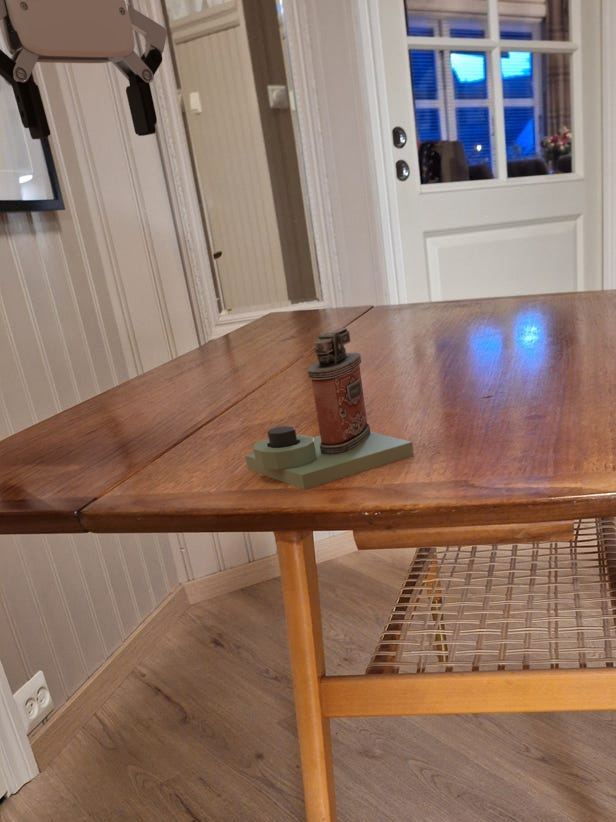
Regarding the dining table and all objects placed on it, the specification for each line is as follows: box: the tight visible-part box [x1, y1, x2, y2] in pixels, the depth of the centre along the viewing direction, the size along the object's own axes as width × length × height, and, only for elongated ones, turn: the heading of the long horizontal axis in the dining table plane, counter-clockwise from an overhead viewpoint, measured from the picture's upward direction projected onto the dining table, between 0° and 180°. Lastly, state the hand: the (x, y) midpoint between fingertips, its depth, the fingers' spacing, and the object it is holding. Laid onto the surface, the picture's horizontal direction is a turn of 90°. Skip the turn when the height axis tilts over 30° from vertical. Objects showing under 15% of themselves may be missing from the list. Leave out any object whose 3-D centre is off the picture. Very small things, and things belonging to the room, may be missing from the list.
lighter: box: [307, 327, 371, 456], centre depth 79 cm, size 8×3×10 cm, turn 167°
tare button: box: [267, 425, 298, 448], centre depth 77 cm, size 2×2×2 cm
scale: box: [244, 431, 414, 490], centre depth 80 cm, size 13×10×3 cm
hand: (95, 136), depth 79 cm, fingers open, 9 cm apart
